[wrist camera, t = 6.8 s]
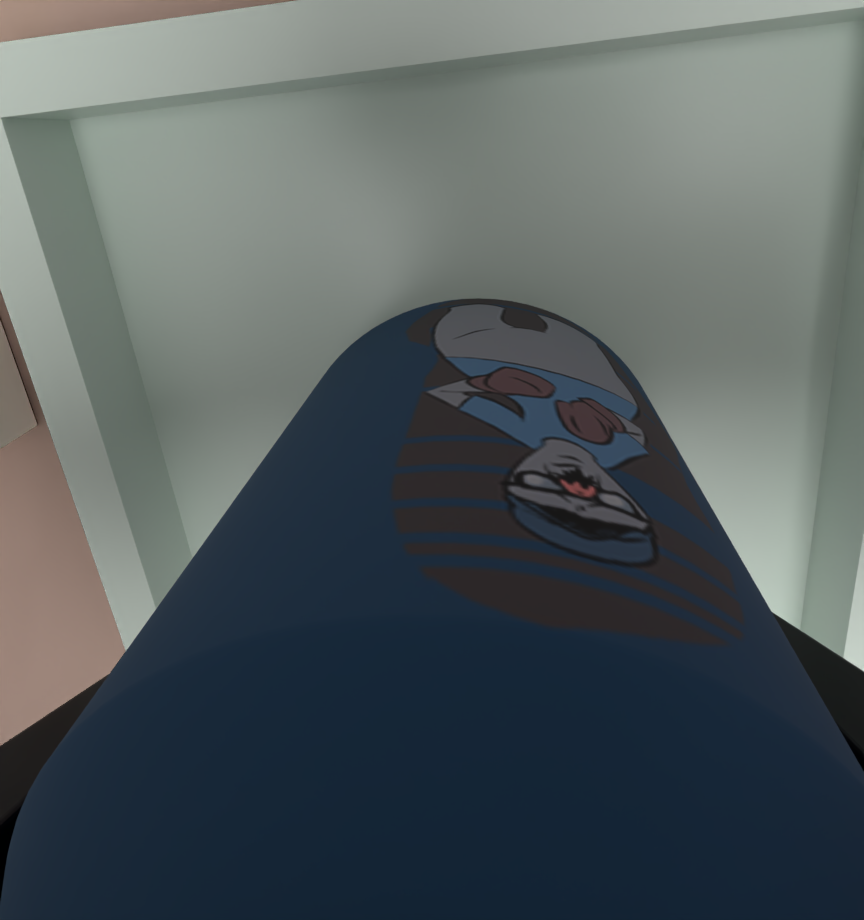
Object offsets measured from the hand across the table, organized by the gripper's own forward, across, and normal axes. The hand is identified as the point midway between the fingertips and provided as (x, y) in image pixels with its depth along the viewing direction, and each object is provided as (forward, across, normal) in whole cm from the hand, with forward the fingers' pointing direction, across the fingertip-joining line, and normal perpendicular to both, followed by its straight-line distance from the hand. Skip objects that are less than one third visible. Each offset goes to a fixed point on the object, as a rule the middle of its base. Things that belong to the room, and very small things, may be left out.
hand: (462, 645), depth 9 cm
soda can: (+6, 0, 0) cm, 6 cm away
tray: (+7, 0, 0) cm, 7 cm away
